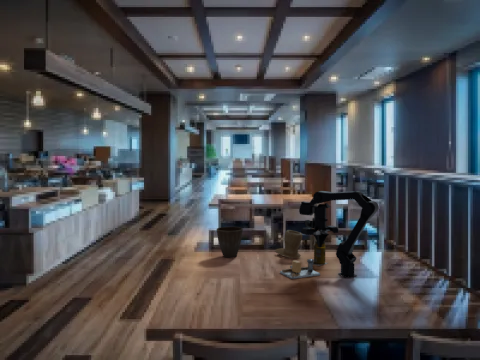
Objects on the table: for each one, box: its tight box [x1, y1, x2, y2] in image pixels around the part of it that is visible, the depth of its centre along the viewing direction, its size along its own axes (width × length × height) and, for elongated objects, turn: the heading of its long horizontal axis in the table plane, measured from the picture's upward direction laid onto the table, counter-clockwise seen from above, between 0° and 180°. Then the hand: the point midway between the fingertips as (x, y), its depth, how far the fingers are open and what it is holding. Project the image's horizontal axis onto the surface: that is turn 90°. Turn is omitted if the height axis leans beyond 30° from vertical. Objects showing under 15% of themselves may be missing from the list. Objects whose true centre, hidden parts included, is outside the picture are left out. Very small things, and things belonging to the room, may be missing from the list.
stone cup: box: [274, 229, 303, 259], centre depth 247 cm, size 15×12×15 cm
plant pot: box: [216, 226, 243, 259], centre depth 246 cm, size 15×15×16 cm
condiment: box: [313, 240, 329, 267], centre depth 231 cm, size 7×8×12 cm
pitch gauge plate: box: [279, 258, 321, 280], centre depth 210 cm, size 11×16×6 cm
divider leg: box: [289, 259, 302, 273], centre depth 211 cm, size 6×2×5 cm, turn 23°
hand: (319, 247), depth 216 cm, fingers closed
